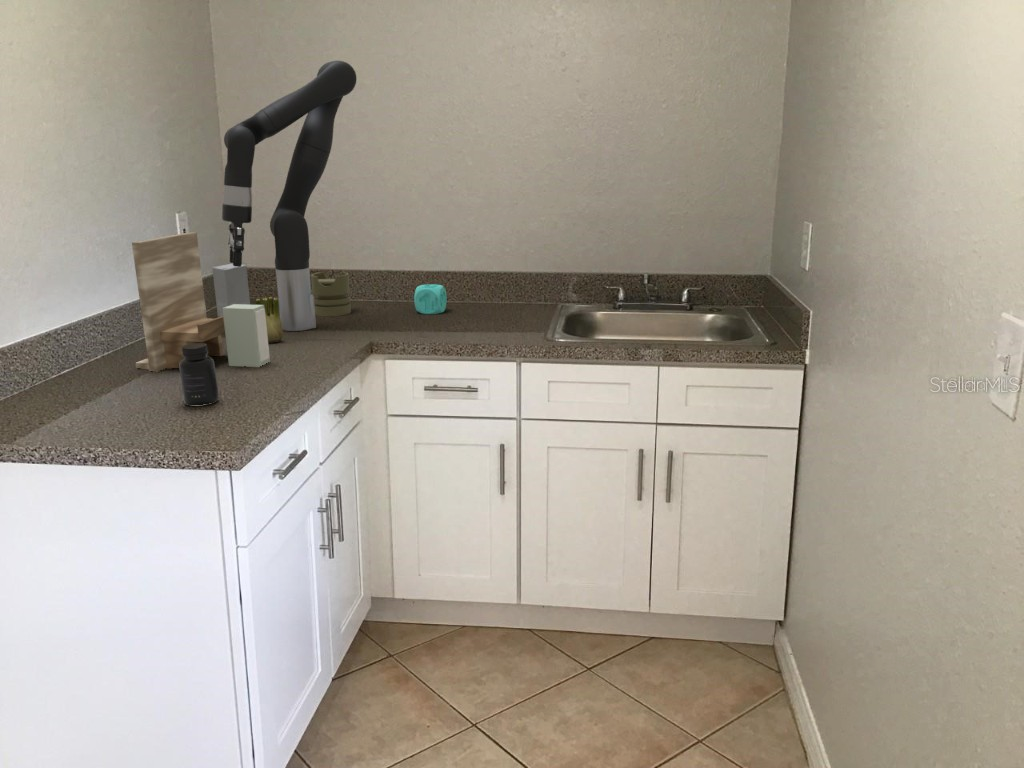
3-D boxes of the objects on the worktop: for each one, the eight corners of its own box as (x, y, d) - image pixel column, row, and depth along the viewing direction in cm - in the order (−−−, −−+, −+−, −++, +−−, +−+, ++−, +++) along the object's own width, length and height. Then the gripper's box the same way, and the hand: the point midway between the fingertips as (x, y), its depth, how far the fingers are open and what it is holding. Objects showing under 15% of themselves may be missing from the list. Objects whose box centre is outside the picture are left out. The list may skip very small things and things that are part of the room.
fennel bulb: (257, 343, 225) (252, 298, 222) (268, 339, 229) (264, 295, 226) (275, 344, 223) (271, 299, 220) (286, 340, 227) (282, 296, 224)
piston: (315, 271, 267) (351, 271, 266) (319, 309, 270) (354, 308, 270) (307, 277, 256) (344, 276, 256) (310, 316, 259) (347, 316, 259)
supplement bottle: (189, 398, 177) (182, 342, 173) (222, 396, 177) (216, 340, 174) (179, 408, 170) (172, 350, 167) (214, 406, 171) (207, 348, 167)
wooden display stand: (249, 351, 215) (236, 232, 207) (199, 374, 195) (183, 243, 187) (186, 349, 220) (171, 232, 211) (131, 370, 199) (112, 242, 191)
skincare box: (238, 312, 266) (233, 262, 262) (253, 315, 262) (248, 264, 258) (215, 317, 260) (209, 265, 255) (230, 320, 256) (224, 267, 251)
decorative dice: (414, 314, 260) (413, 288, 258) (423, 309, 268) (421, 284, 265) (439, 314, 258) (438, 288, 256) (447, 309, 266) (446, 284, 264)
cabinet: (270, 362, 205) (265, 305, 201) (260, 367, 200) (254, 308, 197) (240, 360, 207) (233, 304, 203) (228, 365, 202) (222, 308, 199)
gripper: (255, 206, 222) (253, 268, 225) (248, 203, 234) (246, 262, 238) (225, 203, 219) (223, 266, 222) (220, 201, 231) (218, 260, 235)
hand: (235, 264), depth 230 cm, fingers open, 8 cm apart
